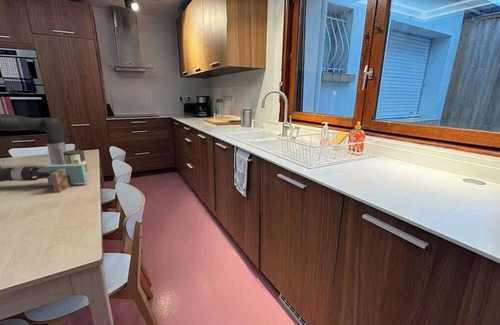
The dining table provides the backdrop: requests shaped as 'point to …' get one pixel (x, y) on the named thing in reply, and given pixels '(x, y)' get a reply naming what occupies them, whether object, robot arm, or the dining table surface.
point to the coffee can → (75, 157)
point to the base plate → (60, 179)
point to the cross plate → (70, 172)
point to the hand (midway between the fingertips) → (61, 172)
